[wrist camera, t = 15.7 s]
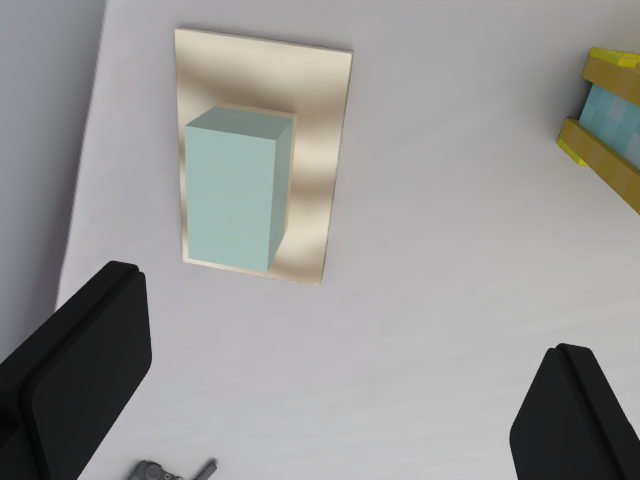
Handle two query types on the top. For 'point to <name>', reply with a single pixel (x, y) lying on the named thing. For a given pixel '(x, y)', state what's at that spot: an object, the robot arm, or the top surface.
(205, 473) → the walkie-talkie
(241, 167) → the block
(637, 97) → the book
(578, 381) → the robot arm
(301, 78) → the board
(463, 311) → the top surface
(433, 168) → the top surface
